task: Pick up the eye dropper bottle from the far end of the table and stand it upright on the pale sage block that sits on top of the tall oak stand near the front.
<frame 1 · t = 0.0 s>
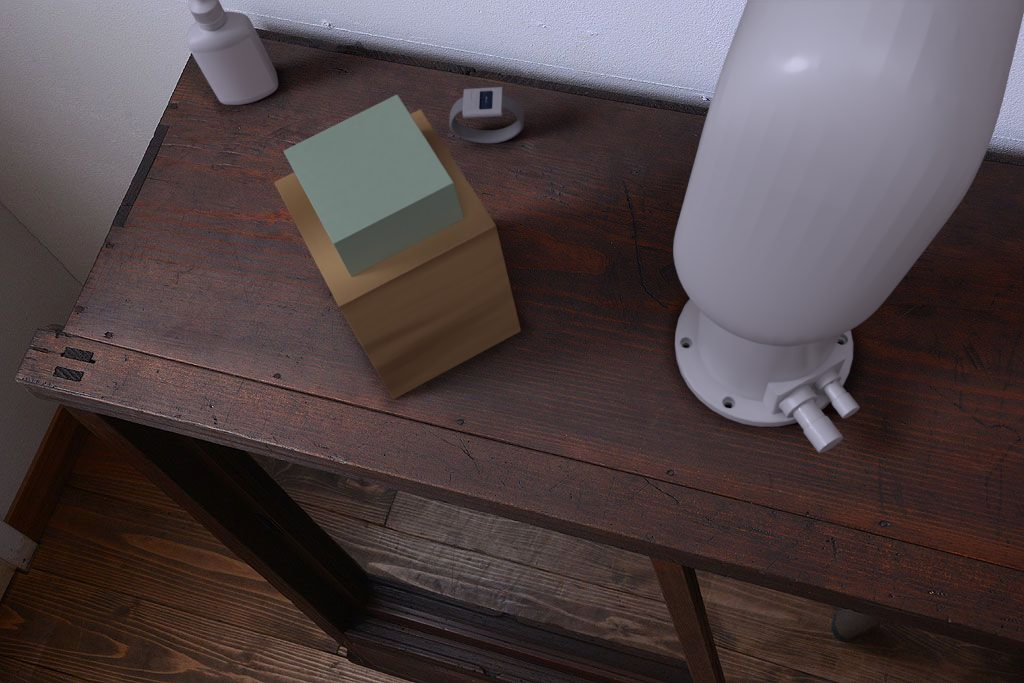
wristwatch: (490, 139, 83), on the table
block: (381, 202, 63), point 15 cm above the table, touching stand
stand: (426, 310, 76), on the table
eye dropper bottle: (250, 91, 88), on the table
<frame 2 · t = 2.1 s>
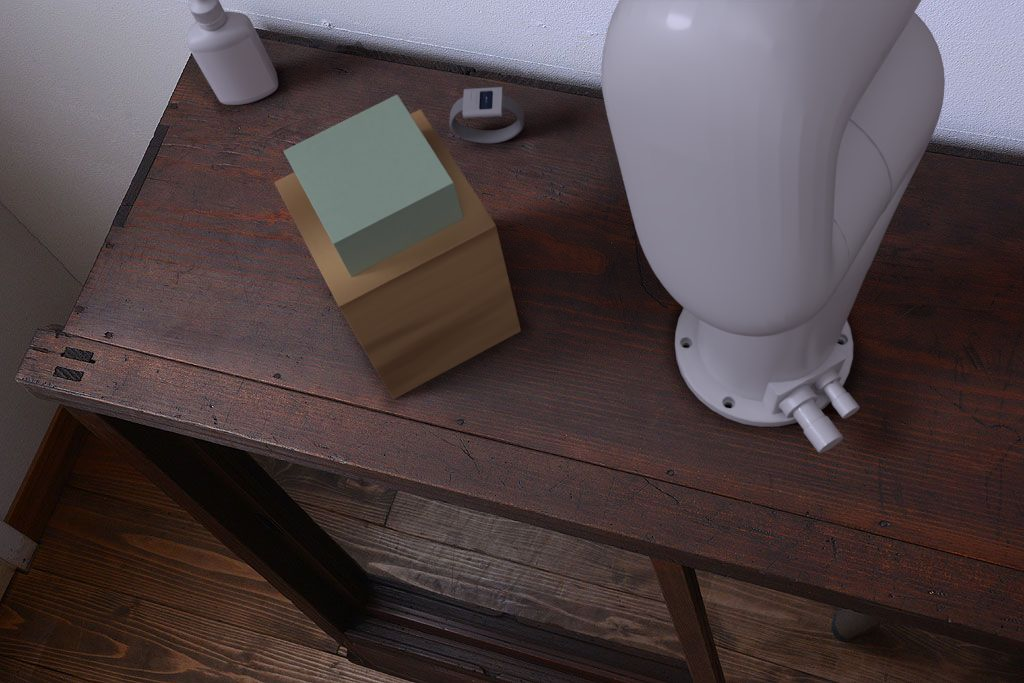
nothing on the table moved.
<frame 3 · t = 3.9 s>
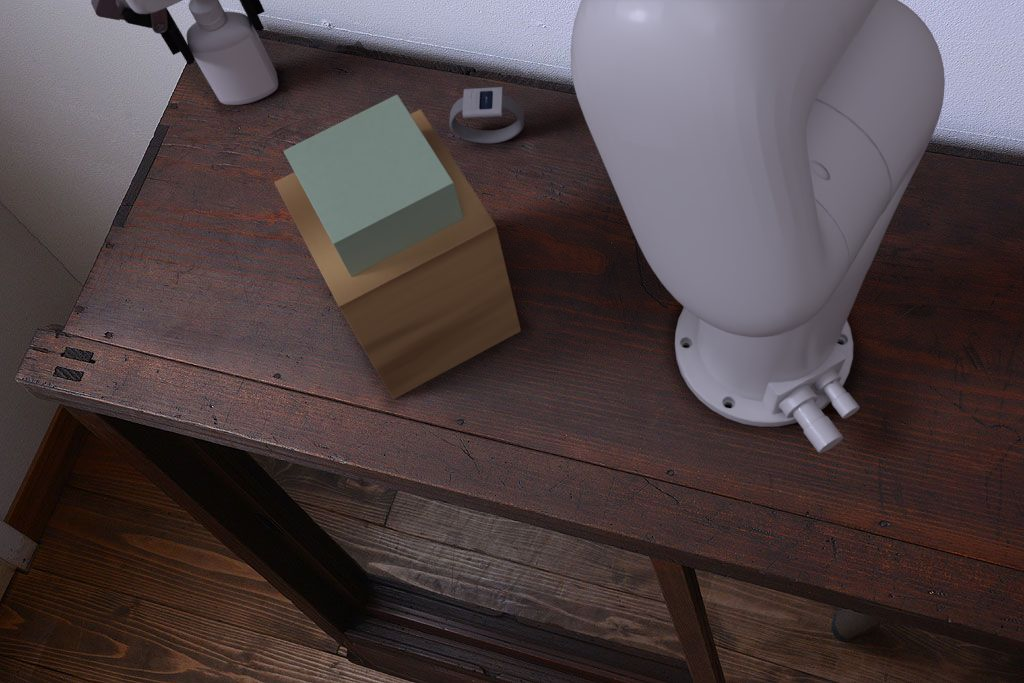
hand: (220, 35, 82), 7 cm above the table, tool pointing down, fingers closed on eye dropper bottle, 5 cm apart
eye dropper bottle: (250, 91, 88), on the table, touching gripper
everything else where it was.
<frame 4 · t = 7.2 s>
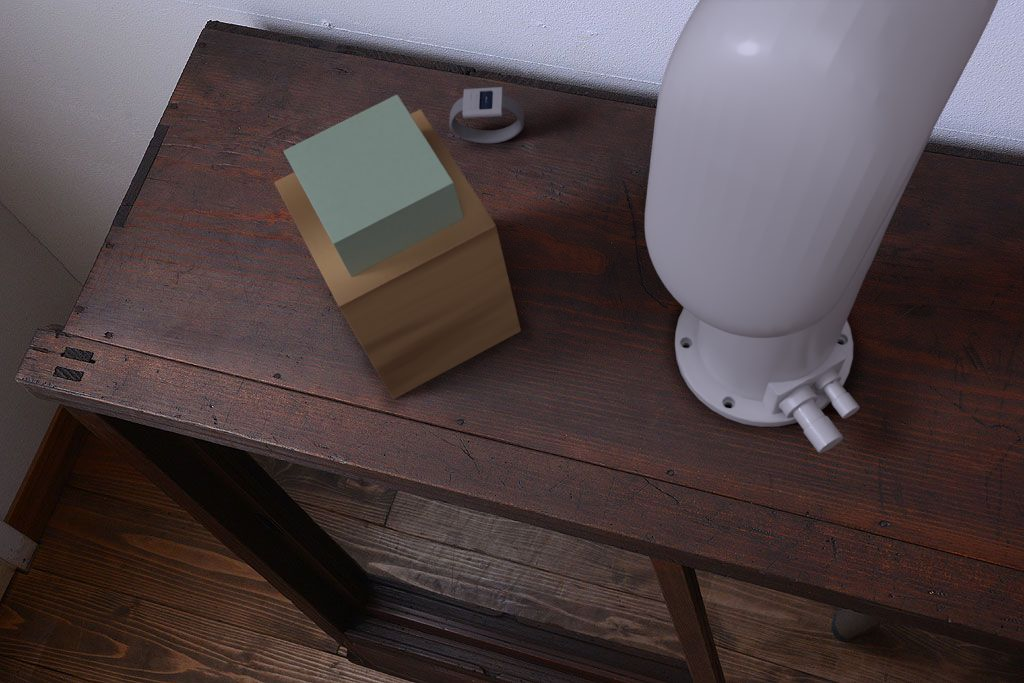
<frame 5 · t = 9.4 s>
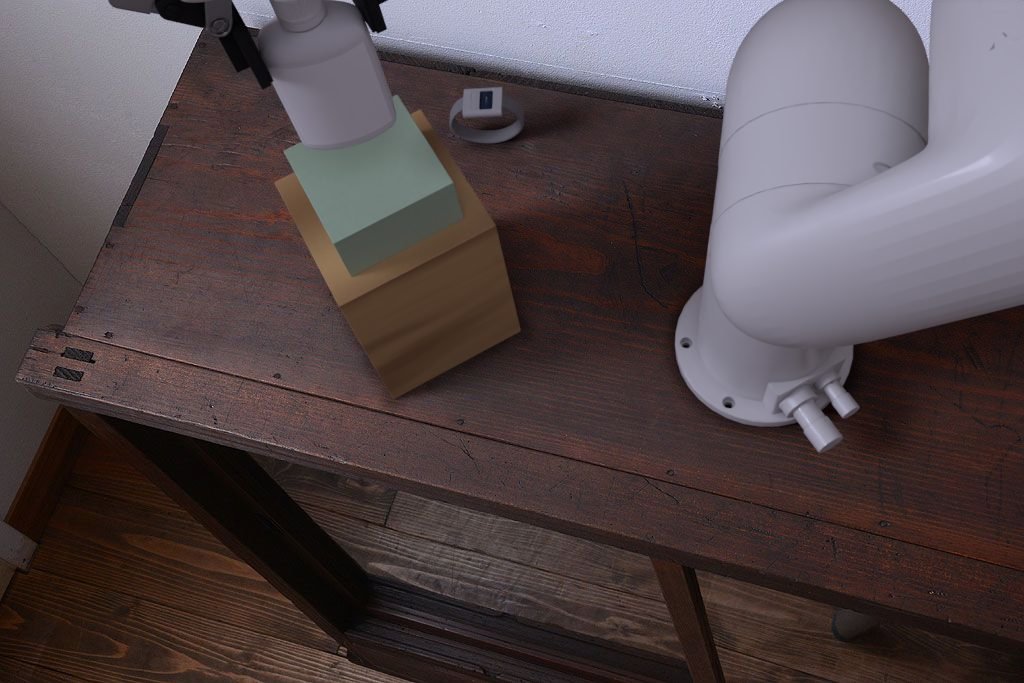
hand: (313, 39, 49), 30 cm above the table, tool pointing down, fingers closed on eye dropper bottle, 5 cm apart
eye dropper bottle: (350, 127, 56), point 23 cm above the table, touching gripper
everything else where it was.
when the fingers open (26 cm above the table, at t = 11.0 s): eye dropper bottle stays where it is, resting on block.
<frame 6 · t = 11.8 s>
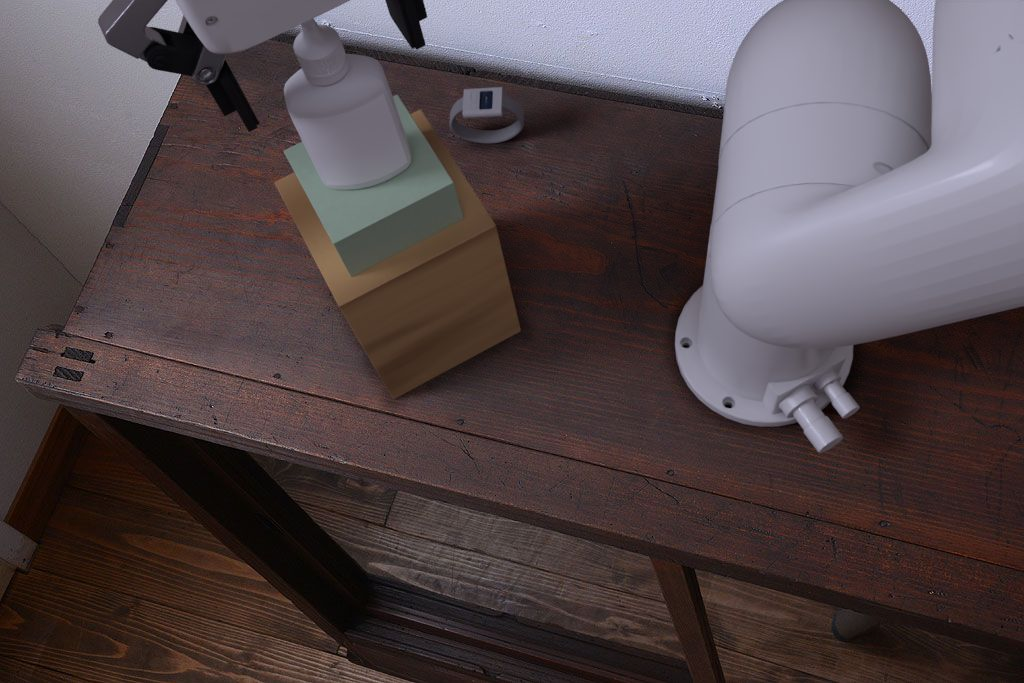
hand: (327, 71, 52), 27 cm above the table, tool pointing down, fingers open, 9 cm apart
block: (381, 202, 63), point 15 cm above the table, touching eye dropper bottle, stand
eye dropper bottle: (367, 167, 59), point 19 cm above the table, touching block
everything else where it was.
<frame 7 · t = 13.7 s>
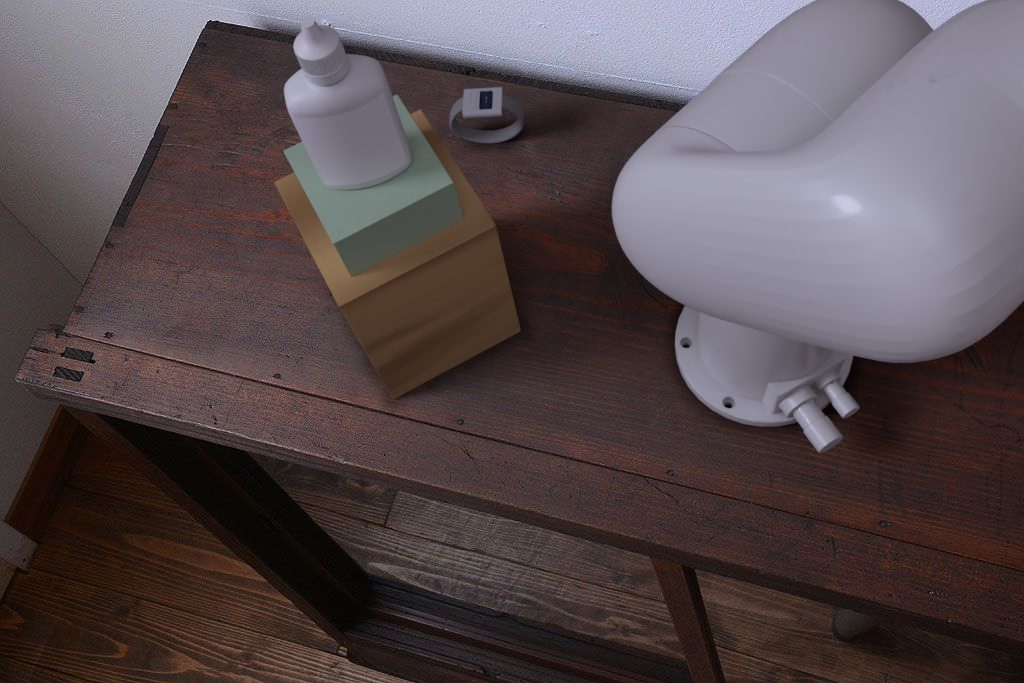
nothing on the table moved.
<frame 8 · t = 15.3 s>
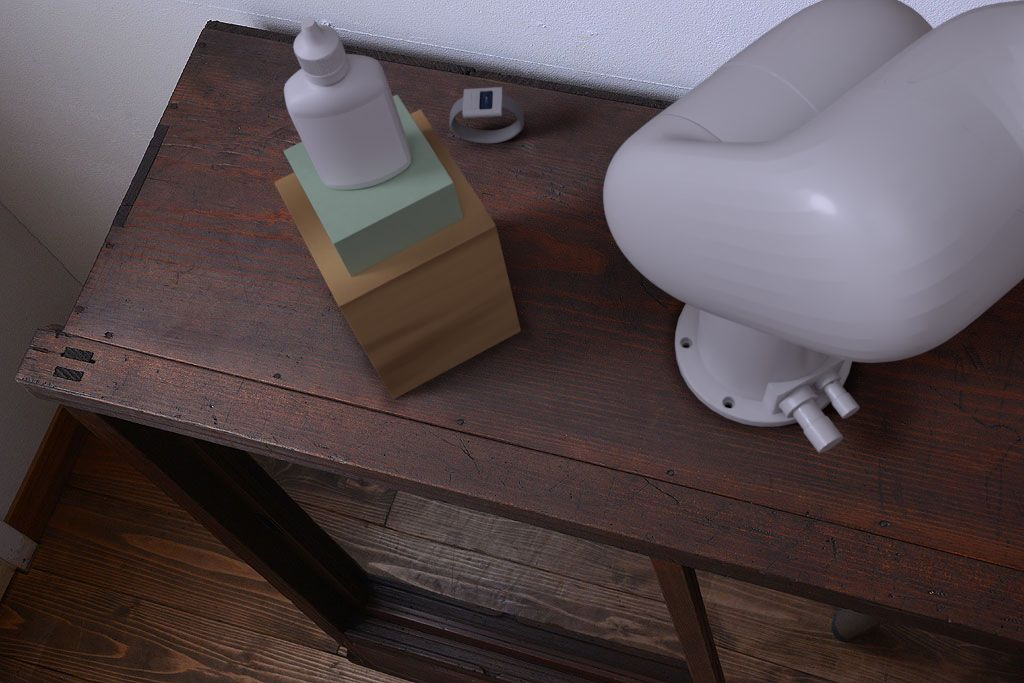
nothing on the table moved.
at the end: eye dropper bottle 0.0 cm off-centre on the block, point 3.8 cm above the block's base; eye dropper bottle tilted 0° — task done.
